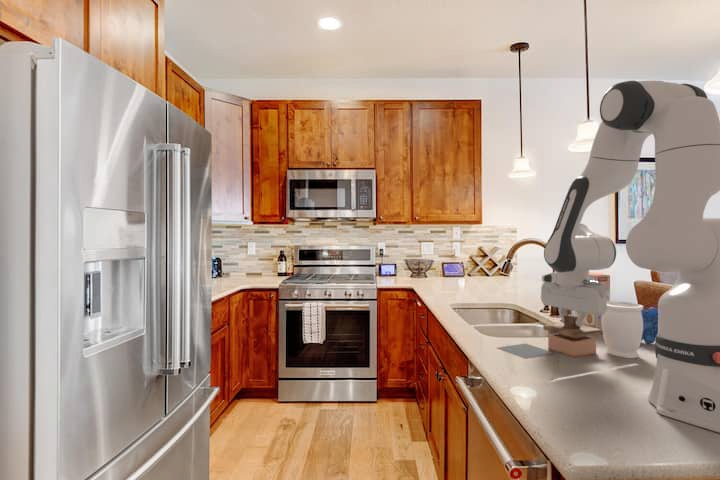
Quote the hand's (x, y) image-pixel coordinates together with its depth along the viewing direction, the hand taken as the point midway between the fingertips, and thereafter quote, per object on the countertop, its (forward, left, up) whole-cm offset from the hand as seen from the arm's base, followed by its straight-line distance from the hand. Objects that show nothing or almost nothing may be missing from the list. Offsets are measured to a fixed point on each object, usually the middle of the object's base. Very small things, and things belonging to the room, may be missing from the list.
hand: (571, 324), depth 122 cm
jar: (-7, -12, -9) cm, 16 cm away
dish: (0, 0, -9) cm, 9 cm away
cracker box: (+19, -33, -9) cm, 39 cm away
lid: (0, 0, -2) cm, 2 cm away
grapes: (-2, -32, -9) cm, 33 cm away
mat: (+6, +12, -9) cm, 16 cm away
